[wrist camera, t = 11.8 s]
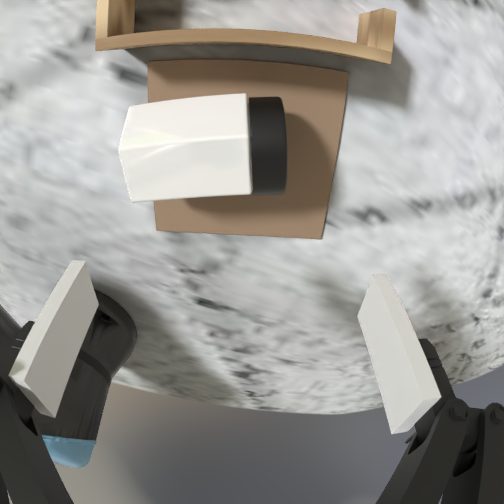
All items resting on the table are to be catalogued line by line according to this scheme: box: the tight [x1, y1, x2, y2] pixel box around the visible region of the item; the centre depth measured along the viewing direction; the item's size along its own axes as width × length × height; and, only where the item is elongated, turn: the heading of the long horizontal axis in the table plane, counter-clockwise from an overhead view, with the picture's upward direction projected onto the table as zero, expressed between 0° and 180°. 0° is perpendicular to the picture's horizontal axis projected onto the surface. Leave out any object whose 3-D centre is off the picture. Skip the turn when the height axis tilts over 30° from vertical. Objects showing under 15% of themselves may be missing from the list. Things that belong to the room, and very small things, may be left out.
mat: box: [148, 59, 349, 239], centre depth 29 cm, size 18×18×1 cm
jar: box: [118, 93, 288, 203], centre depth 25 cm, size 9×8×12 cm
